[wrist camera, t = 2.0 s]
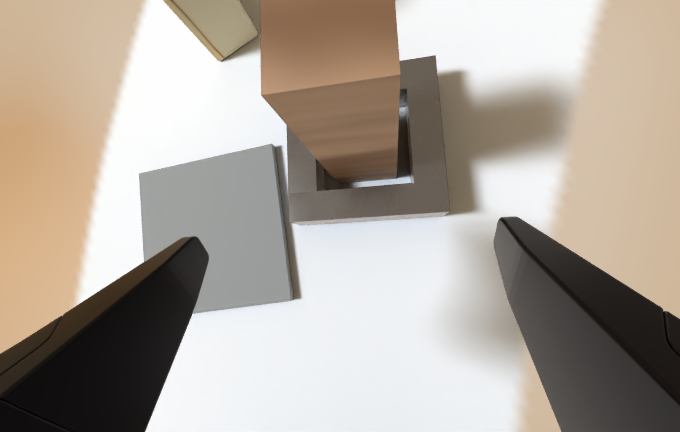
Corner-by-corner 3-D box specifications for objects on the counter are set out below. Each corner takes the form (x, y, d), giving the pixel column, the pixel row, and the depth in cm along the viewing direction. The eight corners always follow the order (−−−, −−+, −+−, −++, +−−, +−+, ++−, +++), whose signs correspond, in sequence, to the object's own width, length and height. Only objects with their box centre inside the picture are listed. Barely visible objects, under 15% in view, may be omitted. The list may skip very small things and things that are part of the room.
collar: (443, 216, 20) (449, 211, 18) (300, 225, 22) (289, 222, 20) (430, 77, 22) (435, 55, 19) (296, 96, 23) (285, 79, 21)
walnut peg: (396, 178, 21) (400, 74, 9) (337, 183, 22) (261, 95, 9) (392, 120, 22) (390, -57, 9) (335, 128, 23) (259, -27, 10)
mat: (293, 299, 22) (290, 300, 21) (153, 317, 24) (147, 319, 23) (274, 146, 23) (271, 143, 23) (144, 175, 25) (139, 173, 25)
